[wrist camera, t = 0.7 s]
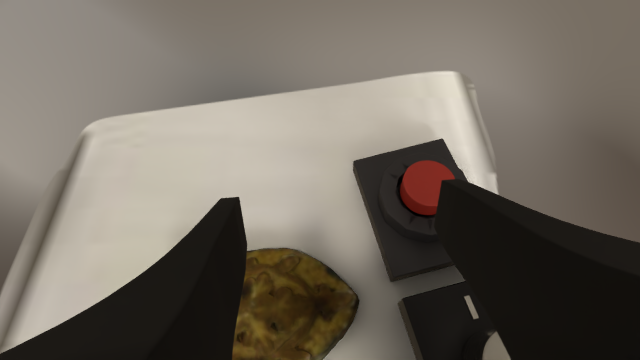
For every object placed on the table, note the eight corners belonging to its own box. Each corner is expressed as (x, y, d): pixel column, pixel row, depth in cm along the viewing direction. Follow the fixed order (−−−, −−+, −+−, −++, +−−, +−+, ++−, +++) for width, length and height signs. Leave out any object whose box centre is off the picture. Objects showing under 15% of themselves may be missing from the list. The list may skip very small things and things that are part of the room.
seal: (344, 241, 27) (166, 274, 27) (343, 214, 23) (135, 253, 23) (372, 368, 22) (151, 411, 22) (376, 361, 18) (106, 413, 18)
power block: (491, 254, 25) (512, 241, 22) (390, 282, 24) (396, 272, 21) (438, 148, 29) (448, 125, 26) (352, 170, 29) (353, 149, 26)
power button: (458, 208, 23) (465, 198, 22) (410, 221, 23) (414, 212, 22) (437, 166, 25) (443, 154, 23) (392, 178, 25) (395, 166, 23)
